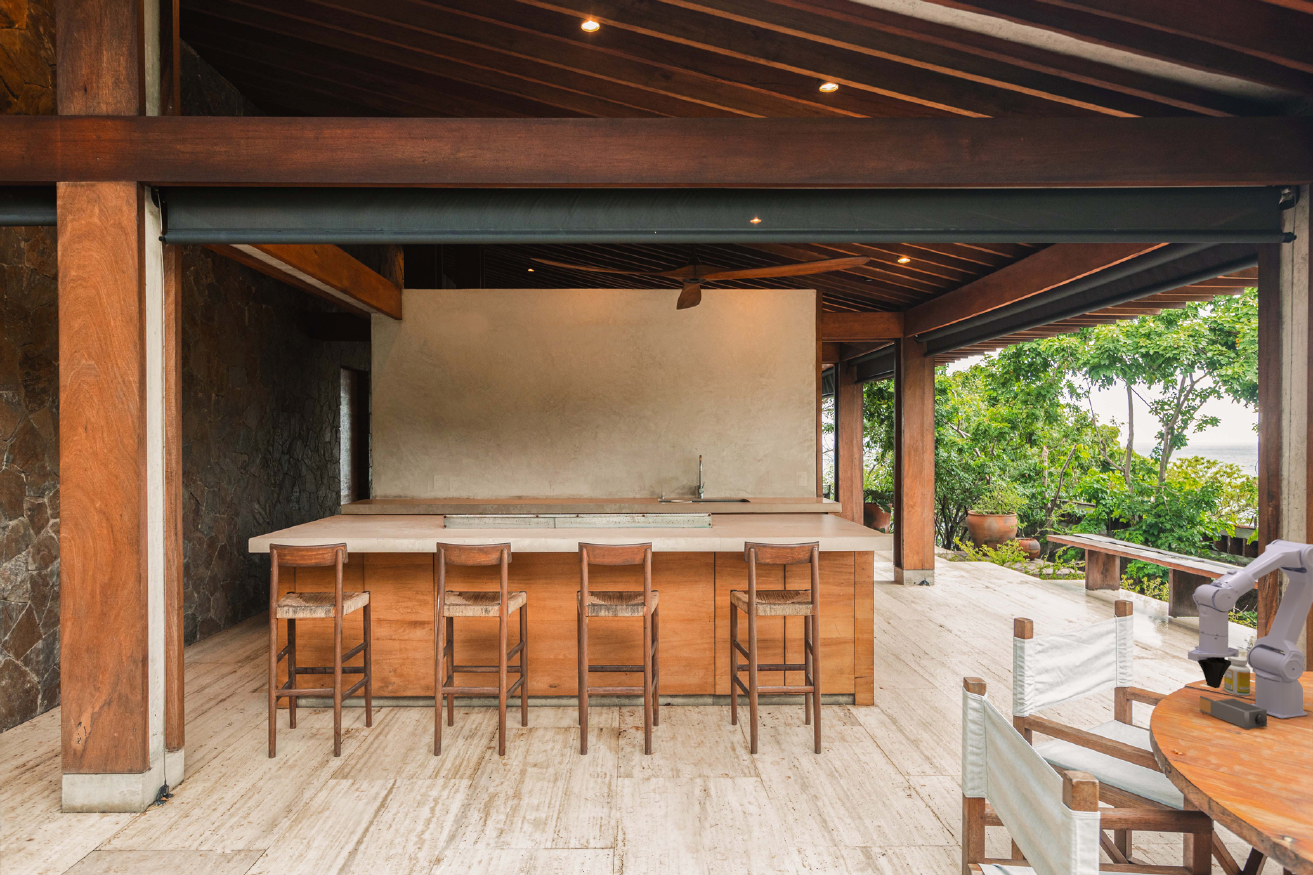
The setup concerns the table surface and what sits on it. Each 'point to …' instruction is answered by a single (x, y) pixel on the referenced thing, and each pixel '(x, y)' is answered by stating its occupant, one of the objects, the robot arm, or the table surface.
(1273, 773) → the table surface
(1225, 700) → the camera body
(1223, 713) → the side door
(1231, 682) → the supplement bottle
